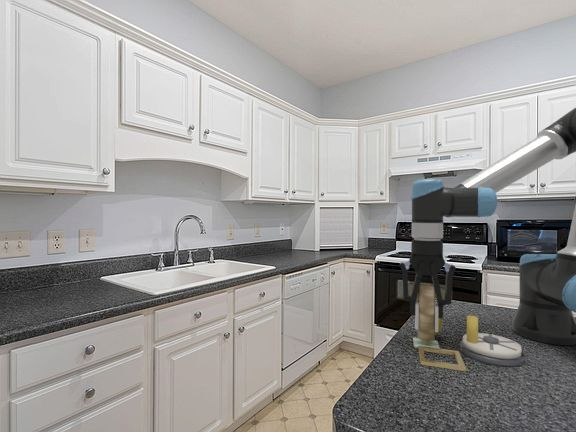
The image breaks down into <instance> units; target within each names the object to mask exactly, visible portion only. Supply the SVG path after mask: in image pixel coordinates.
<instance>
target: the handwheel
mask: <svg viewBox="0 0 576 432" xmlns="http://www.w3.org/2000/svg"><path fill="white" fill-rule="evenodd" d="M462 341H463V345H464V346H465V347H466V348H467V349H469V350H471V351H473V352H476V353H478V354H481V355H485V356H489V357H494V358H500V359H515V358H519V357H520V356H521V352H522V346H521V344H519V343H518V342H516V341H514V340H512V339H510V338H506V337H504V336H501V335H497V334H496V335H495V334H492V333H485V332H479V316H476V315H469V314H468V315H466V333H465V334H463V336H462Z"/></svg>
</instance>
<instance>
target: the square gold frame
mask: <svg viewBox="0 0 576 432" xmlns="http://www.w3.org/2000/svg"><path fill="white" fill-rule="evenodd" d="M439 348H440V347H439ZM439 348H432V347H424V346H418V348H417V349H418V355H419V362H420V365H421V366H422V365H423V366H428V367H434V368H440V369H448V370H454V371H461V372H467V367H466V364H465V362H464V360H463V358H462V356H461V353H460V351H459V350H454V349H446V348H445V349H444V348H440V349H439ZM425 352H427V353H428V352H429V353H433V354H434V353H435V354H440V355H448V356H454V358H455V360H456V363H457V364H455V363H448V362H442V361H436V360H430V359H429V360H428V359H426V358H425V357H426V356H425Z"/></svg>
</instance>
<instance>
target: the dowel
mask: <svg viewBox="0 0 576 432" xmlns="http://www.w3.org/2000/svg"><path fill="white" fill-rule="evenodd" d="M417 299H418V300H417V302H418V304H419V329H418V330H417V338H418V339H420V340H422V341H427V342H432V341H434V340H436V339H435V337H436V335H435V304H436V294H435V287H434V284H433V283H427V282H425V283H423V282H420V286H419V290H418V295H417Z"/></svg>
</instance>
